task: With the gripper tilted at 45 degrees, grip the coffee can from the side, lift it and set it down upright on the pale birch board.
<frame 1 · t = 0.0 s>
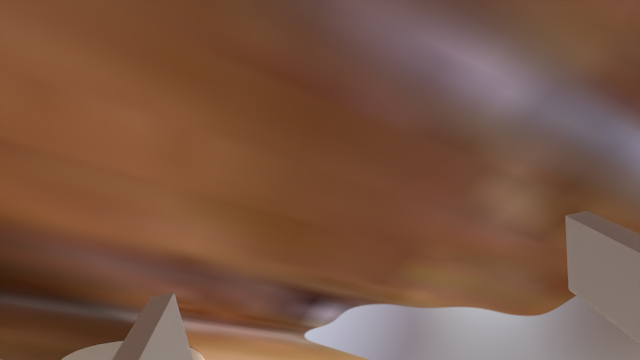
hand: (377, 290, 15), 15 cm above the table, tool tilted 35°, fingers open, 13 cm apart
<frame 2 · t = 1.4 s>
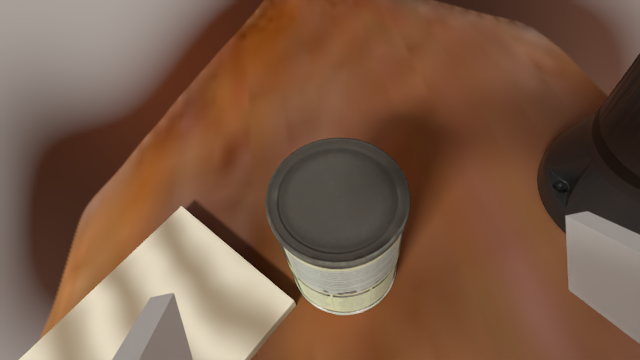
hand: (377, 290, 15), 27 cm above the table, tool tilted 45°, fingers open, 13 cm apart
coffee can: (344, 264, 44), on the table
birch board: (162, 335, 41), on the table
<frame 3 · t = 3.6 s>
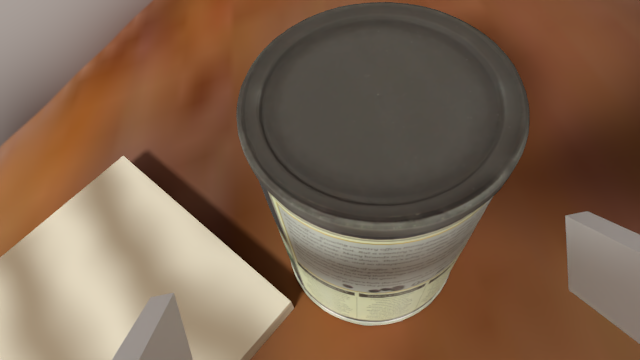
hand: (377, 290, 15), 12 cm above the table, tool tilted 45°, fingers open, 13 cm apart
coffee can: (369, 245, 28), on the table
birch board: (78, 353, 26), on the table
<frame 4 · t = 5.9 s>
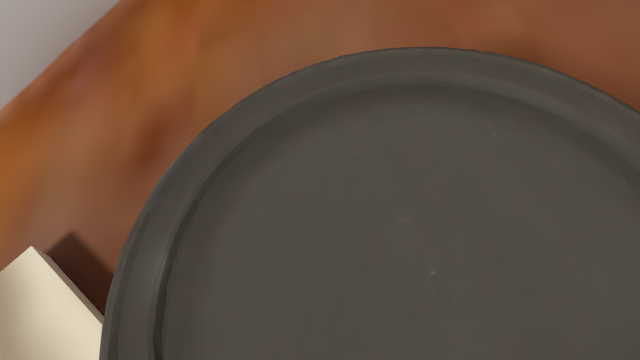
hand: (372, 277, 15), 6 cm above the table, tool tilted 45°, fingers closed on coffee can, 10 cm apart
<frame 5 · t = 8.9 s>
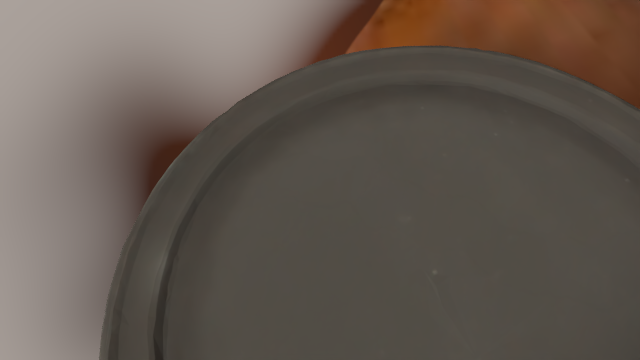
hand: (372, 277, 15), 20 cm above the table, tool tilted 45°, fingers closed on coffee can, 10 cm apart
when the fingers open (8 cm above the table, at t = 12.1 s): coffee can drops 1 cm, resting on birch board.
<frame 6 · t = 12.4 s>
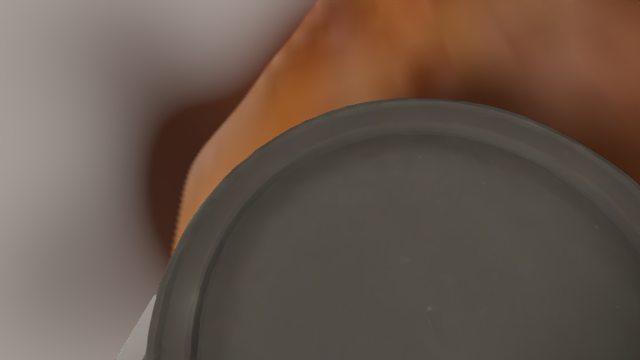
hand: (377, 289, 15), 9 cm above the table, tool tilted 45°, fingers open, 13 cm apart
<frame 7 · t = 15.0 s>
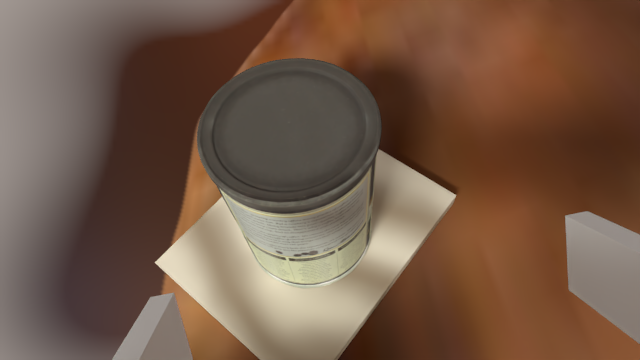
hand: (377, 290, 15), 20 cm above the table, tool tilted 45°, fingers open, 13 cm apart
coffee can: (309, 230, 37), point 1 cm above the table, touching birch board
birch board: (310, 235, 38), on the table
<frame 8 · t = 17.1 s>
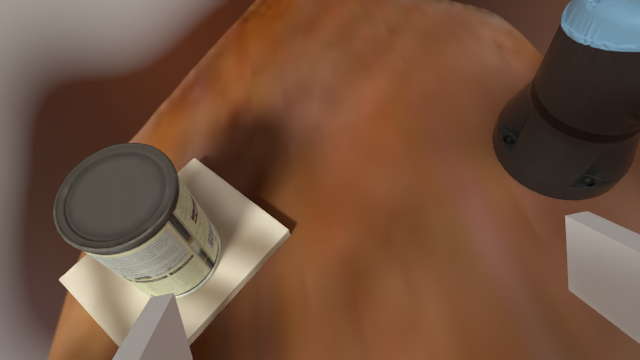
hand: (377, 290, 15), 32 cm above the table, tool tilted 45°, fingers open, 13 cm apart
coffee can: (176, 255, 49), point 1 cm above the table, touching birch board
birch board: (179, 259, 50), on the table
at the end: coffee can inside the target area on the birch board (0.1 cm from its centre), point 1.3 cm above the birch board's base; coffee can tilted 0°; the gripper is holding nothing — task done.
